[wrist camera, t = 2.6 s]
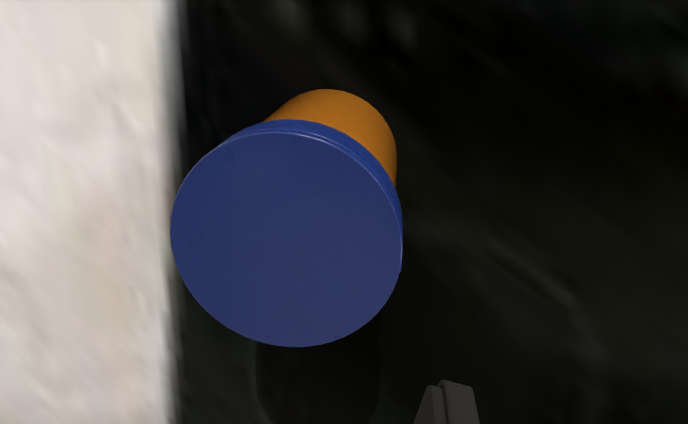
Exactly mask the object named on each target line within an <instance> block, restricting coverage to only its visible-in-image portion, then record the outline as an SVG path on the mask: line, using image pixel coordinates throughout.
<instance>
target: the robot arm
mask: <svg viewBox="0 0 688 424" xmlns="http://www.w3.org/2000/svg"><path fill="white" fill-rule="evenodd" d="M414 424H480V423H479V418H478V413H477V408H476V403H475V398H474V393H473V390H472V388H471V387H469V386H465V385H461V384H457V383H453V382H449V381H445V380H440V382H439V383H438V385H437V387H436V386H433V385H428V387H427V389H426V391H425V394H424V397H423V399H422V402H421V405H420V408H419V410H418V413H417V416H416V418H415V421H414Z"/></svg>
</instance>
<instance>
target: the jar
mask: <svg viewBox="0 0 688 424" xmlns="http://www.w3.org/2000/svg"><path fill="white" fill-rule="evenodd" d="M282 119H296V120H306V121H311V122H317V123H320V124H323V125H326V126H329V127H332V128H334V129H336V130H338V131H341V132H343V133H345V134H346V135H348V136H350V137H351V138H353V139H354V140H356V141H357V142H359V143H360V144H361V145H362V146H364V147H365V148H366V149H367V150H368V151H369V152H370V153H371V154H372V155H373V156H374V157H375V158H376V159H377V160H378V161H379V162H380V164H381V165H382V167H383V168H384V170H385V171H386V172H387V174H388V176H389V177H390V179H391V181H392V183H393V185H394V187H395V190H396V167H397V153H396V146H395V141H394V138H393V135H392V132H391V130H390V128H389V126H388V124H387V123H386V121H385V120H384V118H383V117H382V116H381V115H380V114H379V112H378V111H377V110H376V109H375V108H374V107H372V106H371V105H370V104H369V103H367V102H366V101H364V100H363V99H361V98H359V97H357V96H355V95H353V94H350V93H347V92H344V91H338V90H329V89H323V90H314V91H310V92H306V93H303V94H301V95H298V96H296V97H294V98H292V99H291V100H289V101H288V102H287V103H285V104H284V105H283V106H281V107H280V108H279V109H278V110H276V111H275V112H274V113H273V114H272V115H270V116H269V117H268V118H267V119H265V120H264V121H263V122H267V121H272V120H282Z"/></svg>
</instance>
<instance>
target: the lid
mask: <svg viewBox="0 0 688 424" xmlns="http://www.w3.org/2000/svg"><path fill="white" fill-rule="evenodd" d="M170 237H171V247H172V251H173V256H174V260H175V263H176V265H177V268H178V271H179V273H180V275H181V277H182V279H183V281H184V283H185V285H186V286H187V288H188V289H189V291H190V292H191V294H192V295H193V297H194V298H195V299H196V300H197V301H198V302H199V304H200V305H201V306H202V307H203V308H204V309H205V310H206V311H207V312H208V313H209V314H211V315H212V316H213V317H214V318H215V319H217V320H218V321H219V322H221V323H222V324H223V325H225V326H226V327H228V328H230V329H232V330H233V331H235V332H237V333H239V334H241V335H243V336H246V337H248V338H250V339H253V340H256V341H260V342H263V343H267V344H272V345H277V346H286V347H307V346H315V345H321V344H325V343H329V342H332V341H335V340H338V339H340V338H343V337H345V336H347V335H349V334H351V333H353V332H354V331H356V330H358V329H359V328H361V327H362V326H363V325H365V324H366V323H367V322H369V321H370V320H371V319H372V318H373V317H374V316H375V315H376V314H377V313H378V312H379V311H380V309H381V308H382V307H383V305H384V304H385V303H386V302H387V300H388V298H389V296H390V295H391V293H392V291H393V289H394V287H395V284H396V282H397V279H398V276H399V272H401V263H402V250H403V224H402V212H401V207H400V202H399V198H398V196H397V193H396V190H395V187H394V185H393V183H392V181H391V179H390V177H389V176H388V174H387V172H386V171H385V170H384V168H383V167H382V165H381V164H380V162H379V161H378V160H377V159H376V158H375V157H374V156H373V155H372V154H371V153H370V152H369V151H368V150H367V149H366V148H365V147H364V146H362V145H361V144H360V143H359V142H357V141H356V140H354V139H353V138H351V137H350V136H348V135H346V134H345V133H343V132H341V131H338V130H336V129H334V128H332V127H329V126H326V125H323V124H320V123H317V122H311V121H306V120H296V119H282V120H272V121H267V122H262V123H258V124H256V125H253V126H250V127H247V128H245V129H243V130H241V131H239V132H237V133H236V134H234V135H232V136H231V137H230V138H228V139H227V140H226V141H224V142H223V143H222V144H220V145H219V146H218V147H216V148H215V149H214V150H212V151H211V152H210V153H208V154H207V155H206V156H204V157H203V158H202V159H201V160H200V161H199V162H198V163H197V164H196V165H195V166H194V167H193V168H192V169H191V171H190V172H189V174H188V175H187V176H186V178H185V179H184V181H183V183H182V185H181V187H180V188H179V190H178V193H177V196H176V198H175V201H174V204H173V209H172V214H171V223H170Z"/></svg>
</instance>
